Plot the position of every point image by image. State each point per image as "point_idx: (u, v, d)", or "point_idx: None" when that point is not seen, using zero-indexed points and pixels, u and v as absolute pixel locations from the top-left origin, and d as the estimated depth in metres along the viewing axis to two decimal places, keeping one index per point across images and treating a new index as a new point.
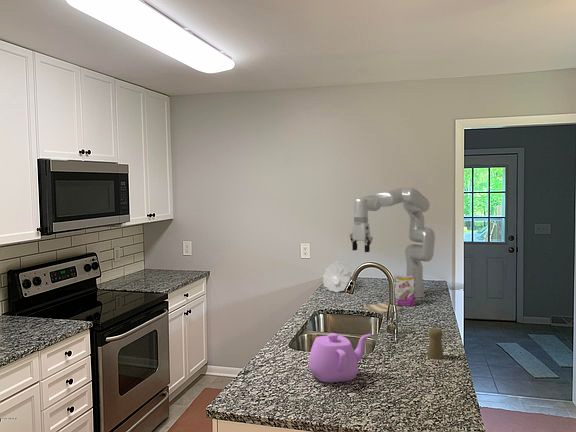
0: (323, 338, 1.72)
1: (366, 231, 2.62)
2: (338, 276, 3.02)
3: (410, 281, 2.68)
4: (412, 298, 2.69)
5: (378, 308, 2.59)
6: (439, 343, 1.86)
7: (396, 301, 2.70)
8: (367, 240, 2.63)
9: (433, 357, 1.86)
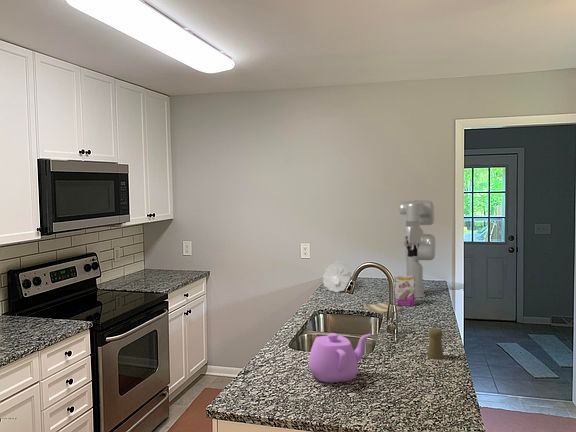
0: (323, 338, 1.72)
1: None
2: (338, 276, 3.02)
3: (410, 281, 2.68)
4: (412, 298, 2.69)
5: (378, 308, 2.59)
6: (439, 343, 1.86)
7: (396, 301, 2.70)
8: (414, 244, 2.76)
9: (433, 357, 1.86)
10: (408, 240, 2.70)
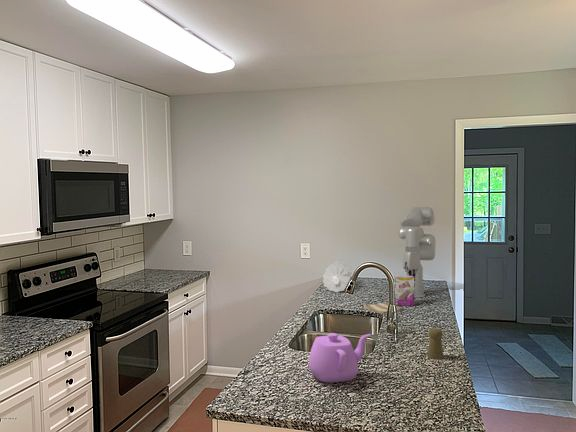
0: (323, 338, 1.72)
1: None
2: (338, 276, 3.02)
3: (410, 281, 2.68)
4: (412, 298, 2.69)
5: (378, 308, 2.59)
6: (439, 343, 1.86)
7: (396, 301, 2.70)
8: (413, 269, 2.76)
9: (433, 357, 1.86)
10: (407, 266, 2.70)
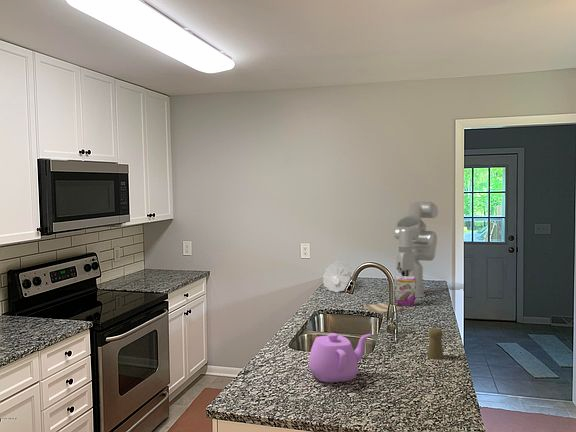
0: (323, 338, 1.72)
1: None
2: (338, 276, 3.02)
3: (411, 283, 2.64)
4: (412, 299, 2.68)
5: (378, 308, 2.59)
6: (439, 343, 1.86)
7: (396, 301, 2.69)
8: (406, 270, 2.72)
9: (433, 357, 1.86)
10: (401, 266, 2.67)
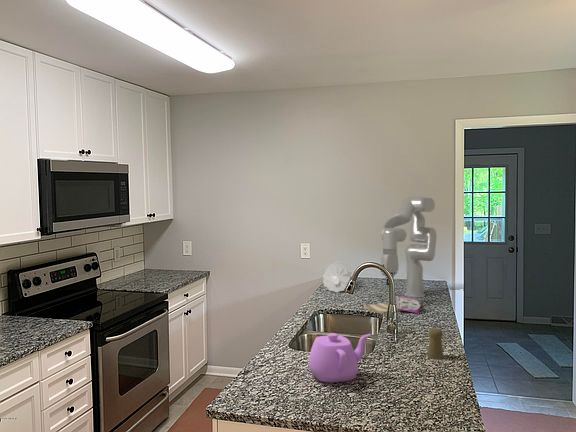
0: (323, 338, 1.72)
1: None
2: (338, 276, 3.02)
3: None
4: None
5: (378, 308, 2.59)
6: (439, 343, 1.86)
7: None
8: (391, 272, 2.65)
9: (433, 357, 1.86)
10: None
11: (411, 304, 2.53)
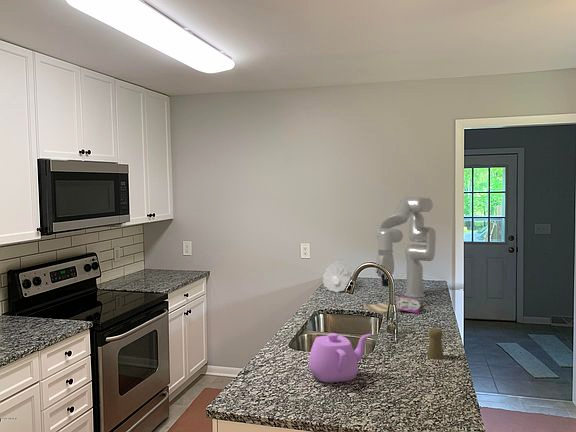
0: (323, 338, 1.72)
1: None
2: (338, 276, 3.02)
3: None
4: None
5: (378, 308, 2.59)
6: (439, 343, 1.86)
7: None
8: None
9: (433, 357, 1.86)
10: (380, 270, 2.58)
11: (411, 304, 2.53)
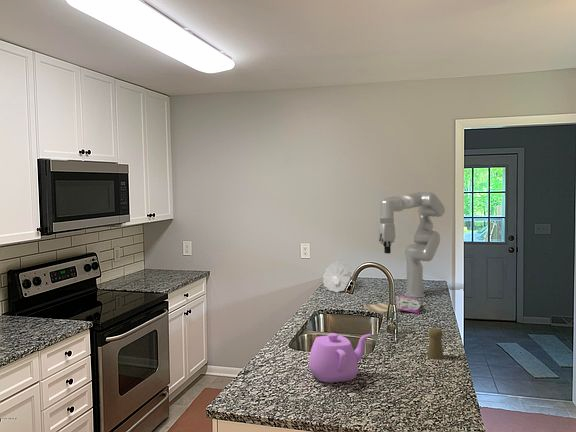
0: (323, 338, 1.72)
1: None
2: (338, 276, 3.02)
3: None
4: None
5: (378, 308, 2.59)
6: (439, 343, 1.86)
7: None
8: (388, 241, 2.75)
9: (433, 357, 1.86)
10: (382, 237, 2.70)
11: (411, 304, 2.53)
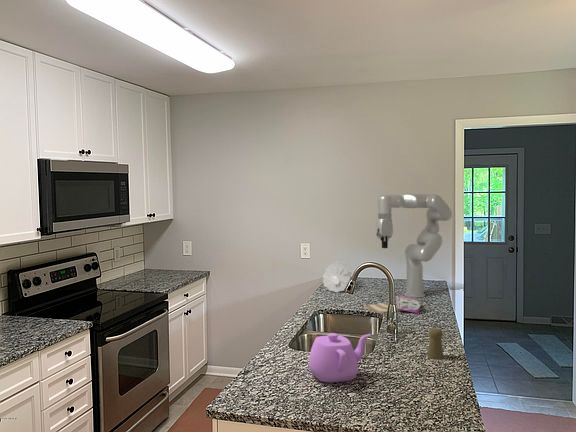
0: (323, 338, 1.72)
1: None
2: (338, 276, 3.02)
3: None
4: None
5: (378, 308, 2.59)
6: (439, 343, 1.86)
7: None
8: None
9: (433, 357, 1.86)
10: (380, 232, 2.76)
11: (411, 304, 2.53)
